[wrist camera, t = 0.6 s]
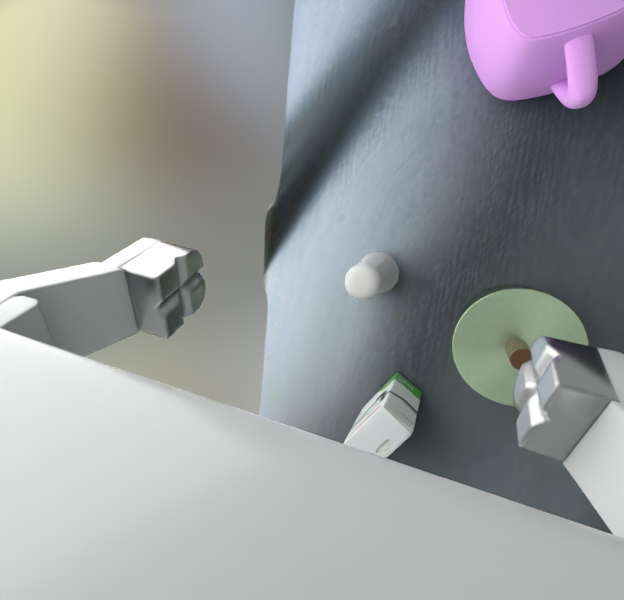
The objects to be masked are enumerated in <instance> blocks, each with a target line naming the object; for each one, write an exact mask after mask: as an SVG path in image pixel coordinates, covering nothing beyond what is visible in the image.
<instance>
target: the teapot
mask: <svg viewBox="0 0 624 600" xmlns="http://www.w3.org/2000/svg"><path fill="white" fill-rule="evenodd" d="M464 23H465V36H466V42H467V47H468V51H469V55H470V58H471V61H472V63H473V66H474V68H475V70H476V72H477V74H478V76H479V78H480V80H481V82H482V83H483V85H484V86H485V88H486V89H487V90H488V91H489V92H490V93H491V94H492V95H494V96H495V97H497V98H499V99H503V100H510V101H515V100H523V99H529V98H534V97H539V96H544V95H548V94H551V93H554V94H555V95H556V97H557V98H558V99H559V101H560V102H561V103H562V104H563V105H564V106H566V107H568V108H571V109H578V108H582V107H585V106H587V105H588V104H590V103H591V102H592V101H593V99H594V97H595V95H596V92H597V87H598V76H600V75H602V74H604V73H606V72H608V71H609V70H611V69H612V68H614V67H615V66H616V65H617V64H618V63H620V62H621V61H622V60H623V59H624V0H466V1H465V13H464Z"/></svg>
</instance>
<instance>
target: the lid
mask: <svg viewBox="0 0 624 600" xmlns="http://www.w3.org/2000/svg"><path fill="white" fill-rule="evenodd" d="M539 335H542V336H547V337H551V338H556V339H560V340H565V341H569V342H574V343H578V344H582V345H587V346H589V345H588V338H587V334H586V331H585V329H584V326H583V324H582V322H581V321H580V319H579V318H578V316H577V315H576V314H575V313H574V312H573V310H572V309H571V308H569V307H568V306H567V305H566V304H565V303H563V302H562V301H560V300H559V299H557V298H555V297H553V296H551V295H549V294H547V293H544V292H541V291H538V290H533V289H526V288H511V289H504V290H500V291H496V292H493V293H490V294H488V295H486V296H484V297H482V298H480V299H479V300H477V301H476V302H474V303H473V304H472V305H471V306H470V307H469V308H468V309H467V310H466V311H465V312H464V313H463V315H462V316H461V318H460V319H459V321H458V323H457V325H456V328H455V331H454V334H453V341H452V351H453V357H454V361H455V364H456V367H457V369H458V371H459V373H460V374H461V376H462V377H463V379H464V380H465V381H466V382H467V384H468V385H469V386H470V387H472V388H473V389H474V390H475V391H476V392H478V393H479V394H481V395H482V396H484V397H486V398H488V399H490V400H492V401H495V402H498V403H501V404H505V405H511V406H514V404H513V386H514V383H515V379H516V375H517V373H518V371H519V369H520V367H521V365H522V364H524V363H526V362H528V361H530V360H532V358H531V352H530V348H531V347H532V345H533V343H534V341H535V340H536V339H537V338H538V336H539Z"/></svg>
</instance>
